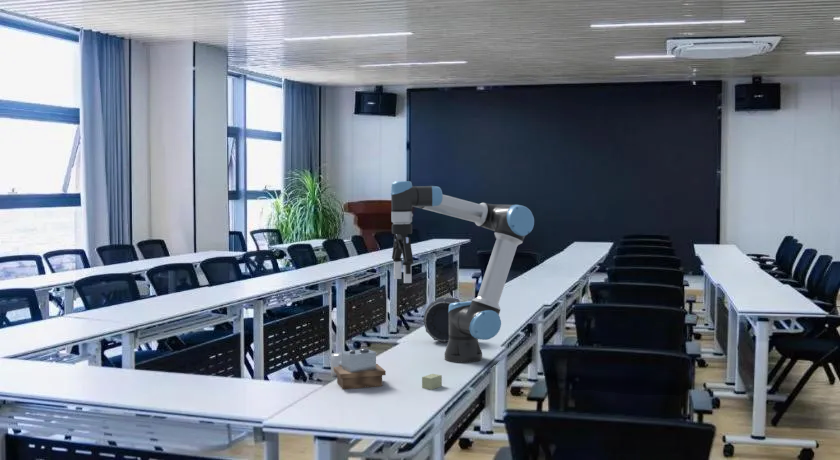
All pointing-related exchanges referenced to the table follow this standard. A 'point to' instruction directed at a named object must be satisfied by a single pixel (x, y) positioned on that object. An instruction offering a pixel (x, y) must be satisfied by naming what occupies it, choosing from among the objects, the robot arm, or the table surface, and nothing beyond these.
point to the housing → (358, 360)
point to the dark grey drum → (438, 318)
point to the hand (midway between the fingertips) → (402, 281)
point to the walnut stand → (359, 378)
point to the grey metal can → (335, 362)
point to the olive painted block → (432, 381)
